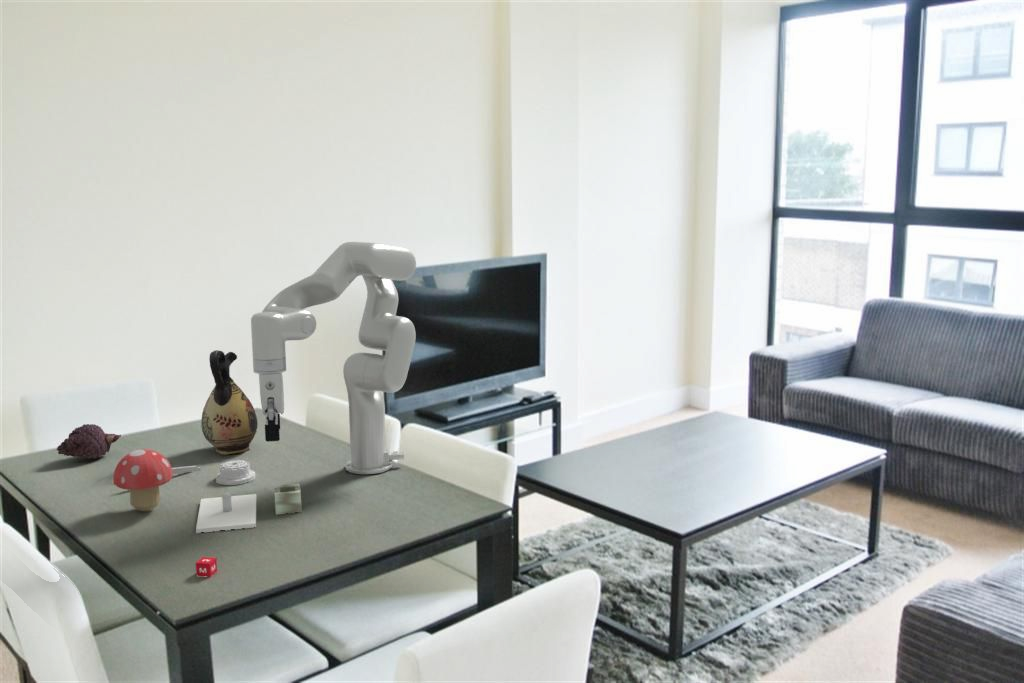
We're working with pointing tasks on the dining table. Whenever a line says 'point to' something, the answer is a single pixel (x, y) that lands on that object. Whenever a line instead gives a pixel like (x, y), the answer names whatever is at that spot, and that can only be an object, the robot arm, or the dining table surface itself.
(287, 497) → the pale green open box
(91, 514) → the dining table surface
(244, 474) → the mechanical component
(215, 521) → the pin board
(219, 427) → the ceramic jug
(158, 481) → the decorative mushroom
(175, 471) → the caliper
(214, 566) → the dice
